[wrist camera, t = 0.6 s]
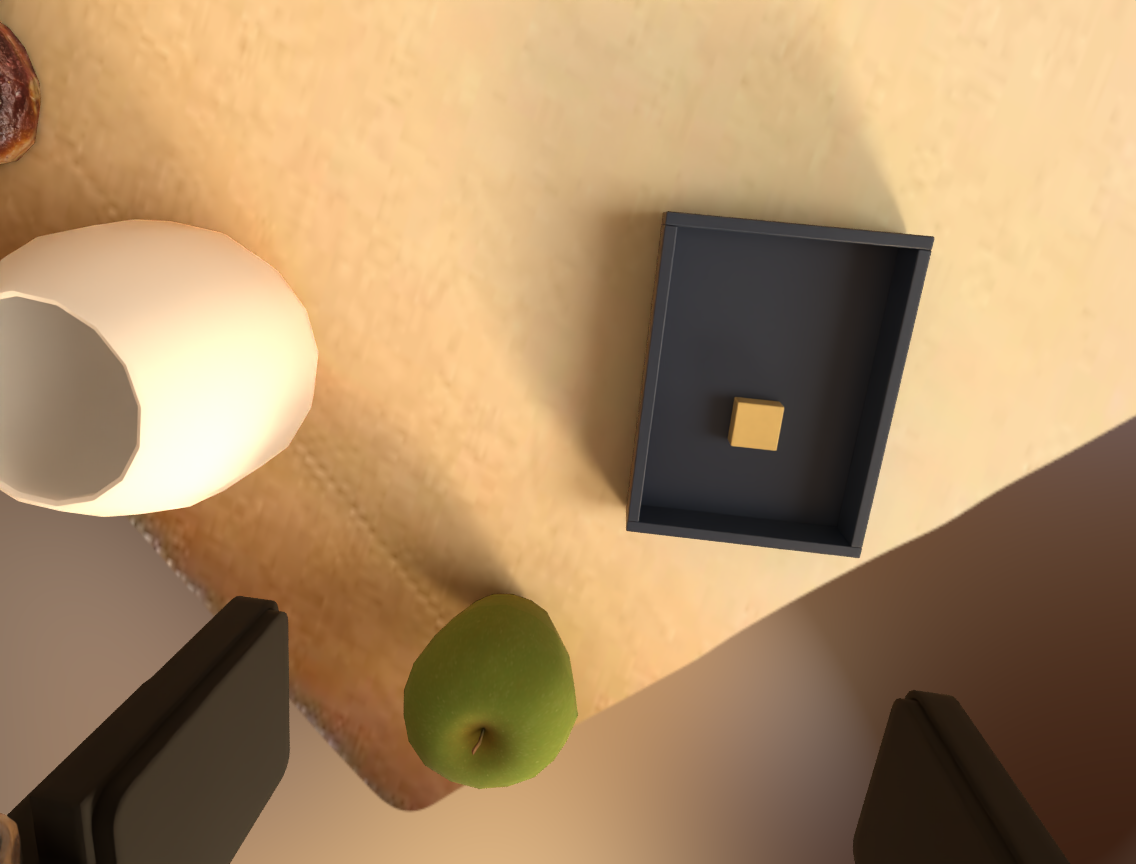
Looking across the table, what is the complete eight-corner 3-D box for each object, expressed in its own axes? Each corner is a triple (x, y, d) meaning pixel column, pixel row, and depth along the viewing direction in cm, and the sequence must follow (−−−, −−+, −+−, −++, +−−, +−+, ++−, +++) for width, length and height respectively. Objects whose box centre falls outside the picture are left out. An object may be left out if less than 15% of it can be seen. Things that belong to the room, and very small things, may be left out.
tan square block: (734, 396, 37) (737, 401, 36) (779, 401, 37) (784, 406, 36) (727, 439, 38) (730, 446, 37) (771, 444, 38) (776, 451, 37)
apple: (453, 680, 44) (395, 832, 33) (434, 558, 42) (365, 678, 31) (591, 676, 43) (579, 830, 32) (579, 551, 41) (561, 671, 30)
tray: (663, 212, 35) (666, 211, 32) (909, 235, 35) (935, 236, 32) (625, 509, 40) (626, 531, 37) (842, 534, 39) (859, 558, 37)
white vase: (248, 500, 42) (80, 624, 29) (70, 339, 40) (-196, 394, 27) (394, 349, 38) (277, 412, 26) (208, 164, 36) (-21, 132, 24)
